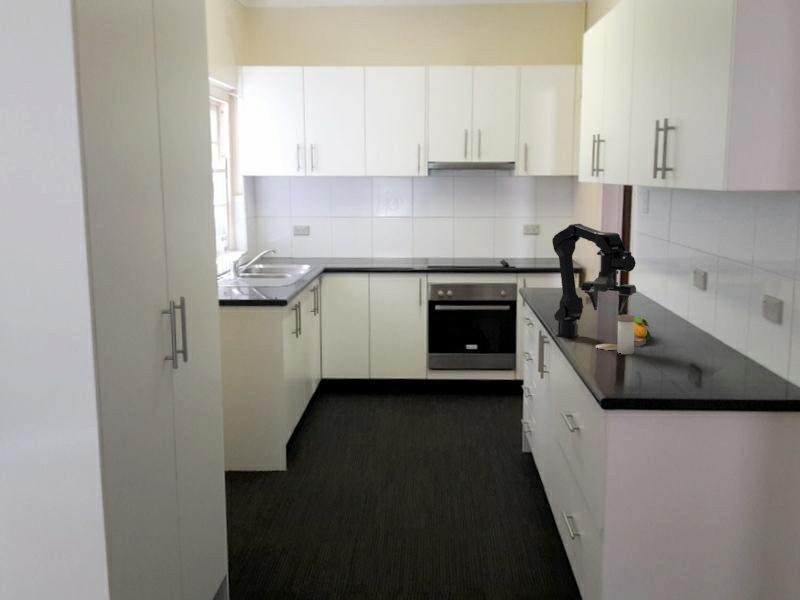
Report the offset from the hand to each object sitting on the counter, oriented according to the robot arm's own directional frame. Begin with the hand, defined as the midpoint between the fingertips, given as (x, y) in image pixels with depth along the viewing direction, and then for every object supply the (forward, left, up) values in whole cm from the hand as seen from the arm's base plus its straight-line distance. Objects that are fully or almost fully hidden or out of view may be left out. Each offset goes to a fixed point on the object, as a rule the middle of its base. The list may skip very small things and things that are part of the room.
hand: (607, 311), depth 298 cm
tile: (+7, +9, -13) cm, 17 cm away
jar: (+10, -6, -13) cm, 17 cm away
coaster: (+2, -2, -13) cm, 13 cm away
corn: (+5, +19, -13) cm, 23 cm away
